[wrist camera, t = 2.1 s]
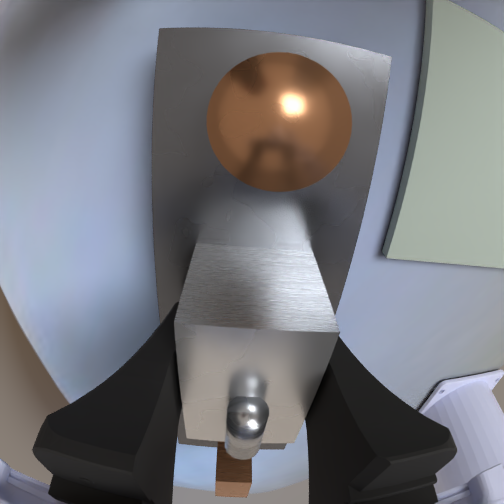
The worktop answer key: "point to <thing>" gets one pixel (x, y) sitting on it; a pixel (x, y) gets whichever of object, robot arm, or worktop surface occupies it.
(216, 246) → the lever cap
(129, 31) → the worktop surface
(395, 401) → the robot arm
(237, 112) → the body
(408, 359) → the worktop surface
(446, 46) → the parts mat
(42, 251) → the worktop surface
